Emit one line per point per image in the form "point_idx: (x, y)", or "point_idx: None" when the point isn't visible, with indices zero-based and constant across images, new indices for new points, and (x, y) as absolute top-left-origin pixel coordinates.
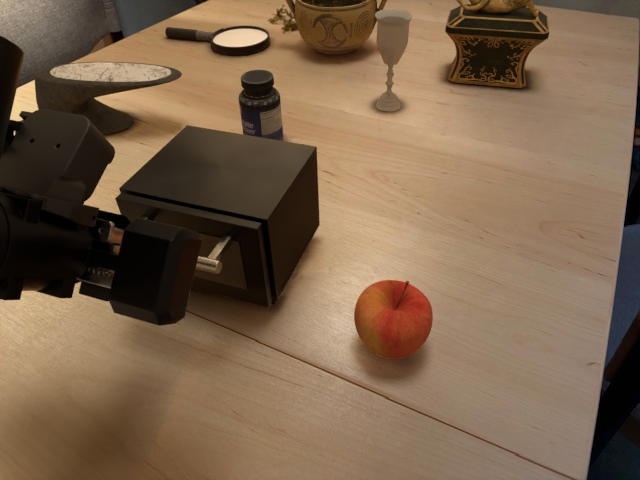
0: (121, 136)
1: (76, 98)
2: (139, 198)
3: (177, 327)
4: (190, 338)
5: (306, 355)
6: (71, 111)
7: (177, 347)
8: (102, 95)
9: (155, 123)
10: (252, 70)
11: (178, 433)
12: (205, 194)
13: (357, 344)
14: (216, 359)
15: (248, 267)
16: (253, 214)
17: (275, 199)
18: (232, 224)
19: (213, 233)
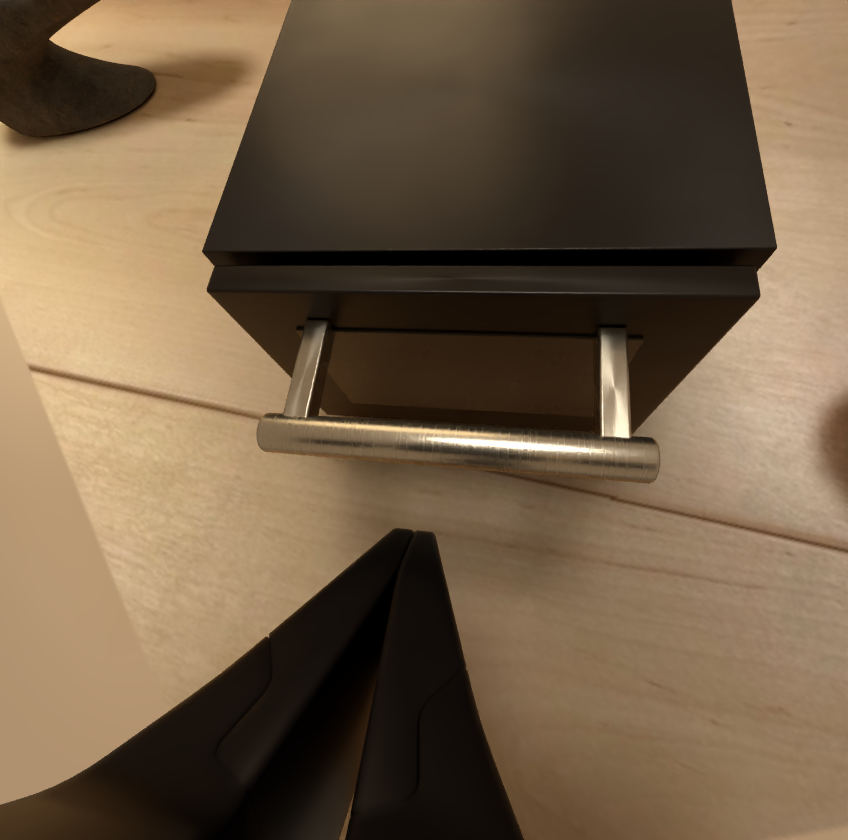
0: (146, 115)
1: (16, 45)
2: (281, 271)
3: (438, 503)
4: (476, 523)
5: (734, 510)
6: (28, 83)
7: (460, 550)
8: (63, 22)
9: (193, 72)
10: None
11: (562, 762)
12: (486, 202)
13: (828, 459)
14: (552, 561)
15: (631, 384)
16: (710, 238)
17: (741, 159)
18: (650, 296)
19: (551, 329)
